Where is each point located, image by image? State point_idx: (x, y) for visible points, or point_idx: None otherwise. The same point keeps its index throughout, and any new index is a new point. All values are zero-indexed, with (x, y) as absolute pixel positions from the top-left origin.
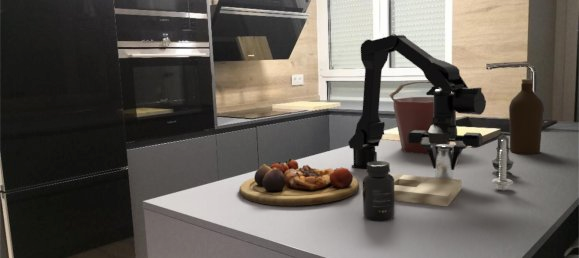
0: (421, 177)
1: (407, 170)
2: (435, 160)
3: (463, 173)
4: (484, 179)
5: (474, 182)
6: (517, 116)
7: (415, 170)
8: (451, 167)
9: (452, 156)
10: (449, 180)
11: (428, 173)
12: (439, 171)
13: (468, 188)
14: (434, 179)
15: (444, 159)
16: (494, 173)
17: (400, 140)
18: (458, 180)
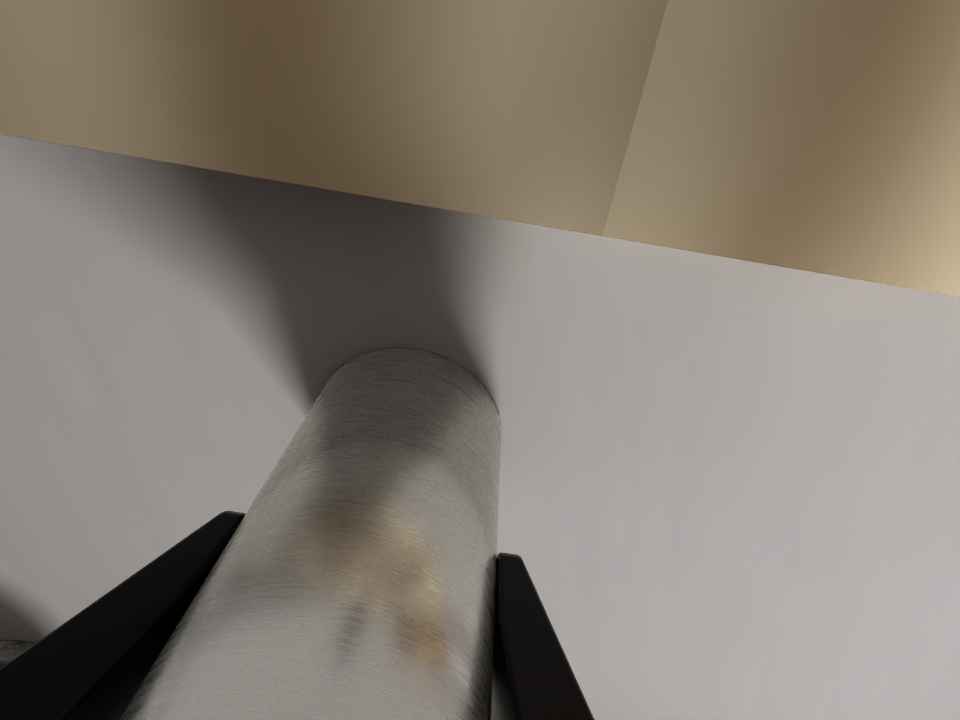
0: (735, 159)
1: (756, 705)
2: (488, 681)
3: None
4: (87, 552)
5: (120, 455)
6: None
7: (685, 708)
8: (232, 539)
9: None
10: (166, 12)
11: (577, 652)
12: (424, 455)
13: (67, 199)
14: (472, 36)
15: (254, 650)
16: None
17: None
18: (18, 63)
